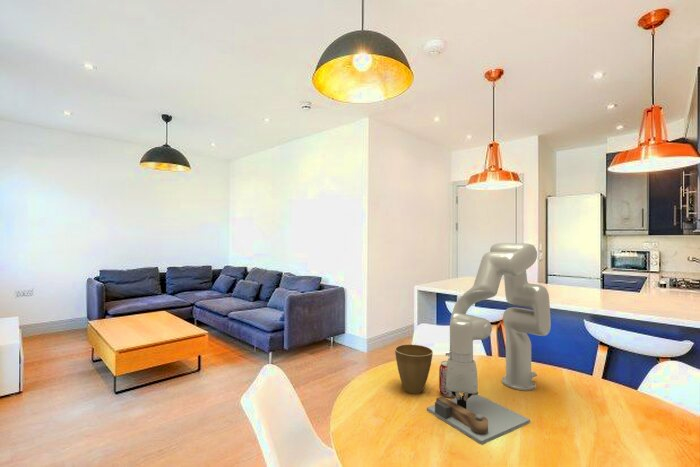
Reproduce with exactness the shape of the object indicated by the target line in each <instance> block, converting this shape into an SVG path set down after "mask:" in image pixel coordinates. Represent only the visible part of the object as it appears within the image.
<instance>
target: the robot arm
mask: <svg viewBox="0 0 700 467" xmlns="http://www.w3.org/2000/svg"><path fill="white" fill-rule="evenodd" d="M537 257H538V251H537V249H536V247H535V246H534V245H533V244H531V243H517V242H500V243H494V244H493V245H491V247H490V249H489V251H488V252H486V253H484V255H483V256H482V258H481V260H480V263H479V267H478V270H477V273H476V276H475V280H474V282H473V285H472V286H471V288H469V289H468V290H467V291H465V292H464V293H463V294H462V295H461V296H460V297H459V298H458V299H457V300H456V302H455V304H454V307H453V309H452V312H451V315H450V320H449V350H448V351H445V356H447V357H448V359H447V360H446V361H447V369H446V388H445V391H446V392H449V393H452V394H453V395H454V396H455V397H454V398H456V399H457V404H458V405H460V406H461V407H463V408H465V409H466V401H467V399H468V398H469V397H470V396H472V395H479V391H478V390H479V389H478V388H479V387H478V386H479V383H478V370H477V364H476V360H474V341H480V340H485V339H487V338H488V337H490V335H492V331H493V330H492V329H493V327H492V326H493V325H492V324H491V322H490V321H489V320H488V319H486V318H484V317H481V316H475V315H471V314H467V313H468V310H469V309H470V308H471V306H473V305H474V304H476V303H479V302H481V301H484V300H488V299H492V298H494V297H495V296H497V294H498V292H499V291H498V290H499V286H500V284H501V280H502V277H503V279H504V280H503V282H504V293H505V294H504V295H505V300H506V302H508V304H510V305H514V306H515V307H514V306H512V307H507V308H506V309H505V310H504V312H503V314H502V322H503V326H504V331H505V333H504V334H505V375H504V376H503V377H502V378H501V383H502V384H503V385H504V386H506V387H508V388H509V389H513V390H518V391H527V392H528V391H533V390H535V389H536V386H537V384H536V383H535V382H534V381H533V378H535V377H537V372H536V371H532V342H531V338H530V337H529V335H528V334H530V335H535V336H540V337H545V336H548V334H549V333H550V332H551V326H552V322H551V320H552V319H551V318H552V317H551V306H550V303H551V302H550V295H549V294H550V293H549V291H548V290H547V288H546V287H545V286H543V285H541V284H537V283H529V282H528V276H527V275H528V274H527V271H528V269H529V268H531V267H532V266H533V265H534V264H536V261H537V259H538V258H537ZM516 306H519V307H516ZM522 307H526V308H522ZM531 308H532V309H531ZM460 393H463V394H462V395H461V394H460ZM461 396H462V400H461Z"/></svg>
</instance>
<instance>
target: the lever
mask: <svg viewBox="0 0 700 467" xmlns="http://www.w3.org/2000/svg"><path fill="white" fill-rule="evenodd" d="M450 400H451V399H448V397H445V396H439V397H436V399H435V402H437V401H441V402H443V403H445V404H446V405H448V406H450V407H451V416H453V417H454V418H456V419H458V420H459V421H461V422H463V423H464V424H466V425H468V426H469V427H471V429H472V430H473V431H474V432H476V433H480V434H485V433H487V432H488V419H487V418H485V417H483V420H478V419H476V414H474V413H472V412H471V411H469V410H467V409H465V408H463V407H461V406H460V405H458V404H456V403H454V402H452V401H450Z"/></svg>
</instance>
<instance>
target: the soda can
mask: <svg viewBox="0 0 700 467" xmlns="http://www.w3.org/2000/svg"><path fill="white" fill-rule="evenodd" d="M447 361H448V360H442V361H441V362H440V365H439V373H438V374H439V377H438V380H439V382H438V384H439V386H438V387H439V389H438V390H439V393H440V394H441V395H443V397H445V398H456V397H455V396H454V395H453V394H452V393H449V392H446V391H445V388H446V369H447Z"/></svg>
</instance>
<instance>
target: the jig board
mask: <svg viewBox="0 0 700 467" xmlns="http://www.w3.org/2000/svg"><path fill="white" fill-rule="evenodd" d="M460 396H461V400H462V396H463V395H460ZM449 400H450V401H452V402H454V403H456V404H457V399H456V397H453V398H452V399H449ZM466 409H467V410H469V411H471V412H472V413H474V414H476V419H478V420H483V417H485V418H487V419H488V432H487V433H485V434H480V433H476V432H474V431H473V430H472V429H471V427H469V426H468V425H466V424H464V423H463V422H461V421H459V420H458V419H456V418H454V417H453V416H451V407H450V406H448V405H446V404H445V403H443V402H441V401H437V402H436V401H435V402H434V405H429V406H428V407H426V411H427V412H429V413H430V414H432V415H433V416H435V417H437V418H438V419H440V420H442V422H445V423H446V424H448V425H449V426H451V427H453V428H454V429H456V430H457V431H459V432H460V433H462V434H464V435H465V436H467V437H469V438H470V439H472V440H474V441H475V442H477V443H478V444H480V445H484V444H486V443H487V442H490V441H493V440H495V439H497V438H499V437H502V436H504V435H506V434H508V433H511V432H512V431H514V430H517V429H519V428H521V427H523V426H526V425H528V424H530V423H531V419H530V418H528V417H526V416H523V415H522V414H520V413H518V412H516V411H513V410H511V409H509V408H507V407H505V406H503V405H501V404H499V403H497V402H495V401H493V400H491V399H488V398H486V397H484V396H482V395H480V394H478V395H472V396H470V397H469V398H468V399H467V401H466Z"/></svg>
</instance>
